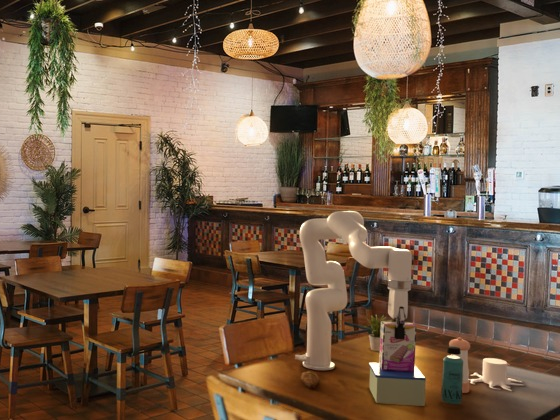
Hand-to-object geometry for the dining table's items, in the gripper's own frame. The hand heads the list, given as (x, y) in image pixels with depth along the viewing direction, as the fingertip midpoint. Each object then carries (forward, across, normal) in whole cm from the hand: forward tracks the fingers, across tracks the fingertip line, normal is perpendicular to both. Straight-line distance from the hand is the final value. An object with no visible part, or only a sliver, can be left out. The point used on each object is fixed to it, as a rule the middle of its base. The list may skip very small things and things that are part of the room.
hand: (397, 336), depth 225 cm
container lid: (+13, 0, 0) cm, 13 cm away
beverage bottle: (+22, +5, +17) cm, 28 cm away
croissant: (+22, -9, -29) cm, 37 cm away
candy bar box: (+12, 0, 0) cm, 12 cm away
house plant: (+22, -64, +4) cm, 68 cm away
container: (+22, 0, 0) cm, 22 cm away
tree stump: (+22, -26, +40) cm, 52 cm away
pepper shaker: (+22, -13, +24) cm, 35 cm away
